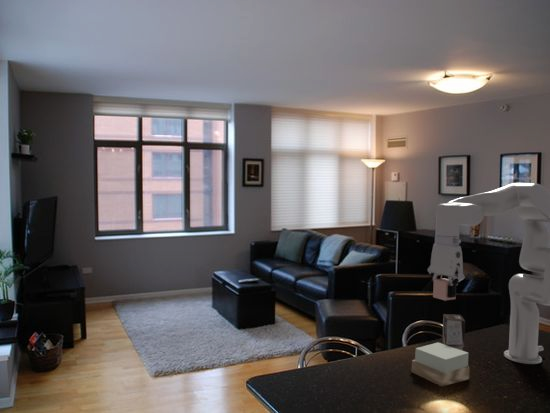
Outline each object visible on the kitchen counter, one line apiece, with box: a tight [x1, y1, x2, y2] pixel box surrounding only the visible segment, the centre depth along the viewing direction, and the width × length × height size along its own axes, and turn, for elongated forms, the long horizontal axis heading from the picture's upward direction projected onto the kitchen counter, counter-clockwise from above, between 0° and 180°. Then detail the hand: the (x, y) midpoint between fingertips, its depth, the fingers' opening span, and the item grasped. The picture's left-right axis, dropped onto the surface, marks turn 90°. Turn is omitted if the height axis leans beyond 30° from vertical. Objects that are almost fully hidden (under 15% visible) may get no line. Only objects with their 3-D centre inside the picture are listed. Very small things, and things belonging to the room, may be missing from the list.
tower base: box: [411, 359, 471, 387], centre depth 163 cm, size 13×13×4 cm
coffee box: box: [442, 313, 466, 351], centre depth 176 cm, size 9×6×16 cm
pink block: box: [432, 277, 457, 301], centre depth 161 cm, size 5×5×6 cm
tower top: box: [414, 341, 469, 373], centre depth 162 cm, size 12×12×4 cm
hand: (444, 294), depth 161 cm, fingers closed on pink block, 5 cm apart
